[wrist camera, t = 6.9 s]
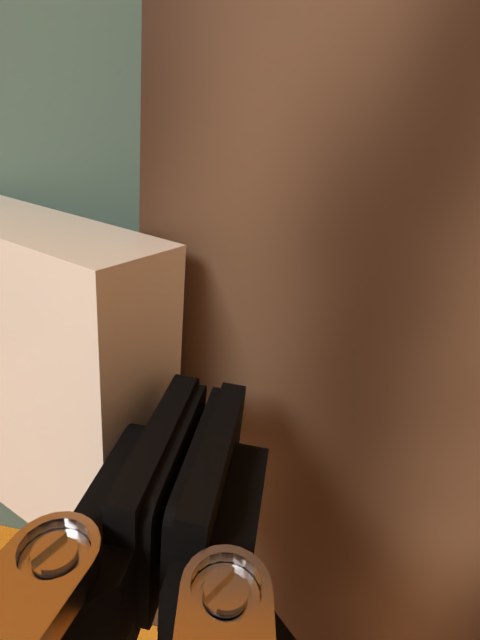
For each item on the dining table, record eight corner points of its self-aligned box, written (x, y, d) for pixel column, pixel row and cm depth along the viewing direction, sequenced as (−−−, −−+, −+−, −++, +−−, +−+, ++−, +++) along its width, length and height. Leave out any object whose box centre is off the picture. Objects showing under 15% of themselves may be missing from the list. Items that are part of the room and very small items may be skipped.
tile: (186, 245, 10) (95, 270, 8) (173, 515, 13) (108, 584, 11) (-32, 185, 13) (-133, 193, 11) (2, 411, 16) (-71, 447, 14)
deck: (748, 5, 9) (929, -46, 7) (454, 613, 18) (480, 702, 15) (187, -41, 10) (143, -99, 8) (161, 549, 19) (134, 620, 16)
